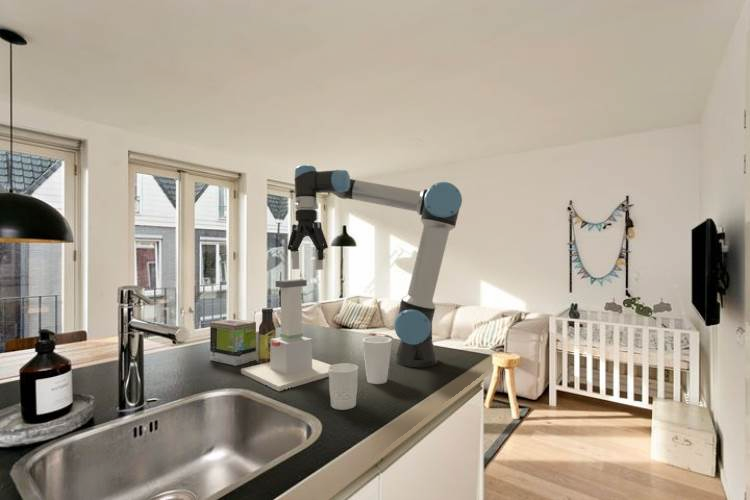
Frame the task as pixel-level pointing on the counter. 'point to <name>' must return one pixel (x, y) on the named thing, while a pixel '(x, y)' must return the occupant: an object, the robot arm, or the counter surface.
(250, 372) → the post stand
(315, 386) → the counter surface
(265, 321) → the sauce bottle
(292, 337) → the post
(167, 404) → the counter surface
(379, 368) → the foam cup
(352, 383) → the white cup
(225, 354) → the tea box
